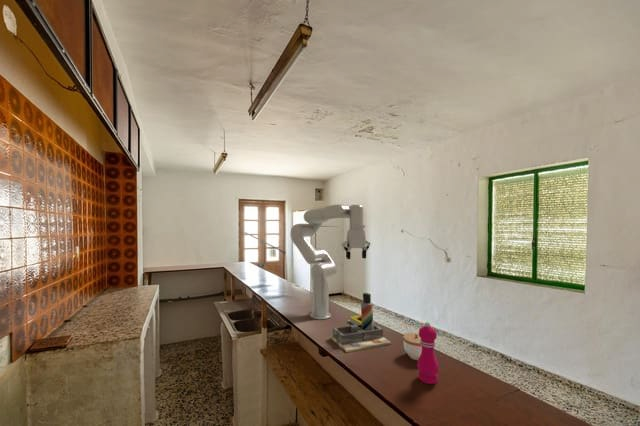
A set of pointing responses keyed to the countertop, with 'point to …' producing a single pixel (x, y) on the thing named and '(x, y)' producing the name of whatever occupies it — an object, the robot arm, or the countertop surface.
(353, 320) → the emergency button
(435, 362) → the pepper mill
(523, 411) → the countertop surface
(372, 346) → the socket board
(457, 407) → the countertop surface
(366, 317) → the lotion bottle
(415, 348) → the lidded jar
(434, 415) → the countertop surface
